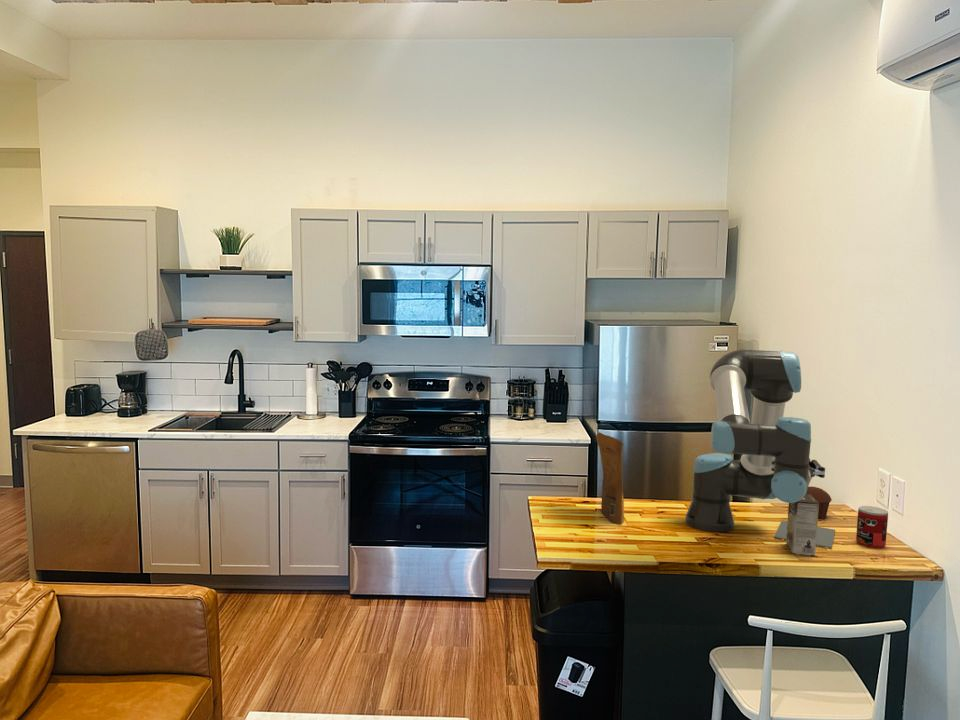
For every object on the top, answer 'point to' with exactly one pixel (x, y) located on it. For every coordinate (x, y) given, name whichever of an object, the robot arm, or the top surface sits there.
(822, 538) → the mat
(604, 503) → the pancake mix bag
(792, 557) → the top surface
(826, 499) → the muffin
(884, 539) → the canned food
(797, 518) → the coffee box
